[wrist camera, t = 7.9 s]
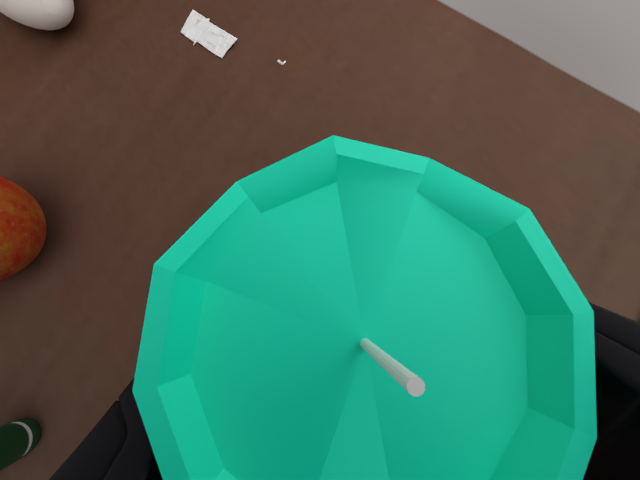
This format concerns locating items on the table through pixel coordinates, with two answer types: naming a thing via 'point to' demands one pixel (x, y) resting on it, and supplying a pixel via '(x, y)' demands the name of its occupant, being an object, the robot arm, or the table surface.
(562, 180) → the table surface
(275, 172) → the candle
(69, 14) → the egg
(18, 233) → the fruit
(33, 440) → the flashlight
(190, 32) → the card
